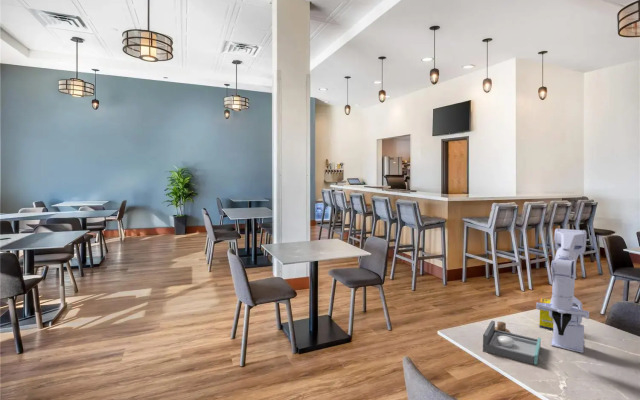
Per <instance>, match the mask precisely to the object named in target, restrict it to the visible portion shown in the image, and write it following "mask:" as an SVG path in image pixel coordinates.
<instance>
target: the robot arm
mask: <svg viewBox="0 0 640 400" xmlns="http://www.w3.org/2000/svg"><path fill="white" fill-rule="evenodd" d="M553 237H554V239H553V240H554V246H555V251H556V253H555V257H554V260H553V259H552V260H551V263H550V264H551V265H550V273H551V281H552V284H551V285H552V286H551V287H552V291H551V298H550V300H551V302H550V304H547V303H540V302H537V301H536V304H535V305H536V306H535V307H536V308H535V309H536V310H537V311H540V309H541V310H546V311H549V316H550V317H551V318H553V321H554V324H553V330H552V337H551V344H550V346H552V347H556V348H560V349H565V350H569V351H573V352H577V353H581V354H582V353H584V347H585V341H586V340H585V326H584V324H582V323H583V322H582V321H583V318H584V319H587V320H590V311H588V310H584V309H583V303H582V301H581V300H579V299H578V298H577V297H575V284H576V281H575V280H576V273H577V272H576V269H577V260H578V258H579V255H582V254H585V252H586V247H587V231H586V230H585V229H583V230H582V229H581V230H580V229H567V228H566V229H565V228H555V229H554V236H553Z"/></svg>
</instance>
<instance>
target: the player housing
mask: <svg viewBox="0 0 640 400" xmlns="http://www.w3.org/2000/svg"><path fill="white" fill-rule="evenodd" d="M486 327H487V328H486V329H485V332H483V334H482V335H483V336H482V352H485V353H488V354H493V355H495V356H500V357H504V358H508V359H512V360H515V361H518V362H523V363H525V364H529V365H535V364H534V356H533V355H529V354H525V353H521V352H517V351H513V350H509V349H505V348H501V347H497V346H493V345H489V343H490V341H491V339H492V337H493V335H494V333H495V332H497V333H502V334H506V335H510V336H515V337H519V338H523V339H528V340H532V341H536V342H537V341H538V338H534V337H530V336H525V335H521V334H517V333H513V332H512V333H511V332H510V333H508V332H504V331H499V330H495V327H496V321H495V320H491V321H490V322H489V324H488V326H486Z"/></svg>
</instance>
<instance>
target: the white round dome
mask: <svg viewBox="0 0 640 400" xmlns="http://www.w3.org/2000/svg"><path fill="white" fill-rule="evenodd" d="M498 344H499V345H501V346H503V347H508V348H510V347H513V346H514V340H513V339H512V338H510V337H508V336H498Z"/></svg>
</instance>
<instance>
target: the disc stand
mask: <svg viewBox="0 0 640 400" xmlns="http://www.w3.org/2000/svg"><path fill="white" fill-rule="evenodd" d="M506 326H507V325H506V322H504V321H497V323H496V326H495V330H499V331H504V332H508V333H511V331H510V330H509V329H508V328H507V327H506Z"/></svg>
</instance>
